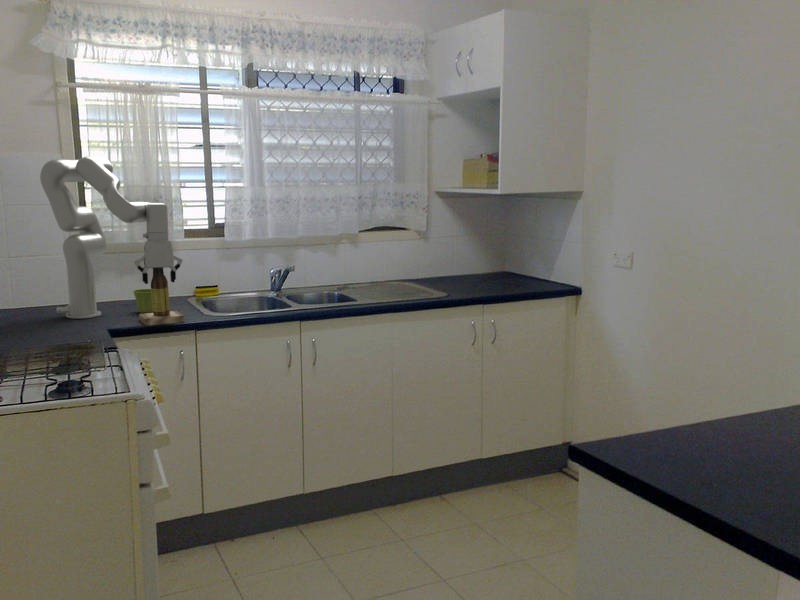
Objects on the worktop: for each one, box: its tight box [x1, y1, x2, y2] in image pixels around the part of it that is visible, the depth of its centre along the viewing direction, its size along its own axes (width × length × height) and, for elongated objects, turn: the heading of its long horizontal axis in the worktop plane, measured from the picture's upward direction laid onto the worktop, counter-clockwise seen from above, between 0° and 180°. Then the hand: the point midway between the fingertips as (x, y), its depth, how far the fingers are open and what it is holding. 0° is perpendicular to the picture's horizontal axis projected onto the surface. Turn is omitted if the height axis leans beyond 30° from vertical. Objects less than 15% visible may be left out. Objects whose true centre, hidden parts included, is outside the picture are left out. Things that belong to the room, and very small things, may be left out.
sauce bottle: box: [150, 268, 171, 316], centre depth 278 cm, size 7×6×20 cm
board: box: [138, 310, 185, 327], centre depth 279 cm, size 14×11×2 cm
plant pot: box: [132, 288, 153, 314], centre depth 298 cm, size 9×9×9 cm
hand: (159, 282), depth 277 cm, fingers open, 9 cm apart
